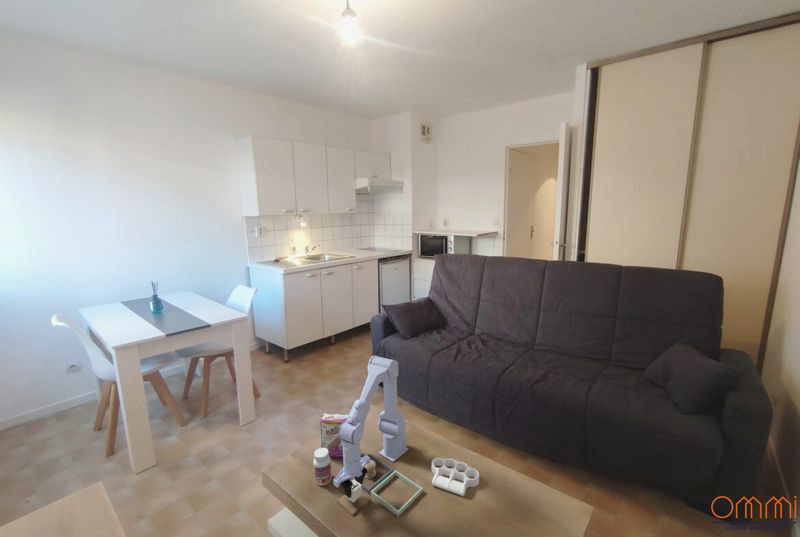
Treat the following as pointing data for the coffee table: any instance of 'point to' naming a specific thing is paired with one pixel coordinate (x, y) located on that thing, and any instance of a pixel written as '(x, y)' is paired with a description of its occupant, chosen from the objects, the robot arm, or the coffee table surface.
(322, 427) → the candy bar box
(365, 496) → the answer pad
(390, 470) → the charcoal tray
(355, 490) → the letter cube
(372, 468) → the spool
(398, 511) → the green tray
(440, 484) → the knuckle duster
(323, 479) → the pill bottle
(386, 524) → the coffee table surface
